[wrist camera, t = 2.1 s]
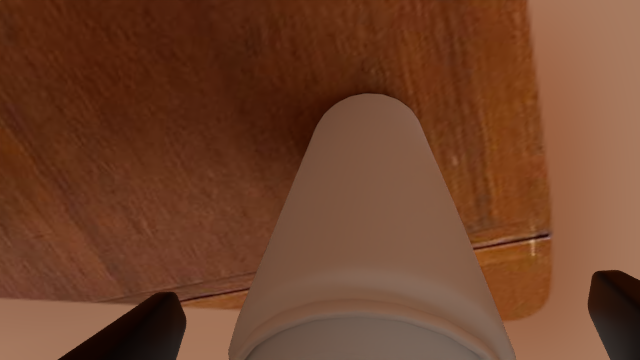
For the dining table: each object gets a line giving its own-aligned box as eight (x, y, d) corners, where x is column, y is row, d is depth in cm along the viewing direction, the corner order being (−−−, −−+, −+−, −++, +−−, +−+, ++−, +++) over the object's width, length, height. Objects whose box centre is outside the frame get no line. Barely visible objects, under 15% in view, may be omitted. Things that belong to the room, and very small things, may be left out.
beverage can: (365, 64, 15) (352, 235, 4) (450, 141, 16) (612, 437, 5) (291, 149, 17) (158, 412, 6) (371, 213, 18) (374, 536, 7)
